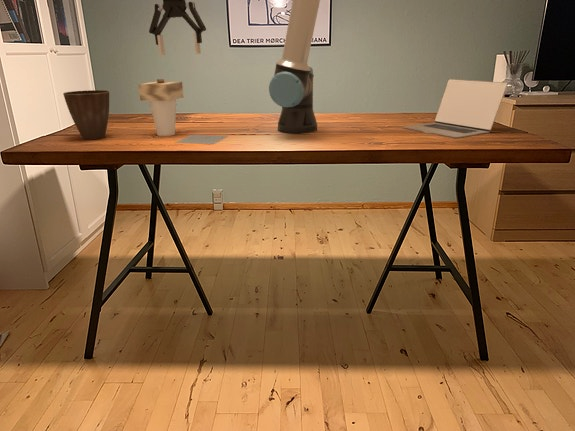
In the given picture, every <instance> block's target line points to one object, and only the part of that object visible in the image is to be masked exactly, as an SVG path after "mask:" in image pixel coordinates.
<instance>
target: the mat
mask: <svg viewBox="0 0 575 431" xmlns="http://www.w3.org/2000/svg"><path fill="white" fill-rule="evenodd" d="M228 137H229V136H228V135H214V134H213V135H211V134H210V135H209V134H192V135H191V134H190V135H188V136H186V137H184V138H182V139H179V140H177V141H174V143H178V144H199V145H200V144H204V145H214V144H216V143H218V142H221V141H223V140H225V139H226V138H228Z"/></svg>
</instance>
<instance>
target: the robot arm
mask: <svg viewBox="0 0 575 431" xmlns="http://www.w3.org/2000/svg"><path fill="white" fill-rule="evenodd" d="M320 2H321V0H292V2H291V6H290V13H289V17H288V23H287V28H286V29H287V30H286V35H285V41H284V46H283V51H282V55H281V56H282V57H281V59H279V60H278V61H276V62H275V63H276V64H275V68H274V73H273V74H274V75H273V77H271V80H270V82H269V84H268V92H269V96H270V99H271V100H272V102H274V104H276V105H277V106H279V107H280V108H281V112H280V115H279V118H278V122H277V131H279V132H281V133H285V134H286V133H288V134H306V133H312V132H316V131H317V130H318V121H317V119H316V115H315V112H314V70H313V67H311V66H309V65H308V61H309V57H310V51H311V45H312V41H313V36H314V32H315V27H316V22H317V17H318V13H319V12H318V11H319V8H320ZM196 8H197V7H196V4H195V1H194V2H193V1H189V2H186V0H162V4H160V3H155V4H154V13H153V16H152V20H151V23H150V26H149V30H148V32H149V34H152V35H154V38H155V40H154V41H155V44H156V45H157V47H158V52H159V56H166V51H165V45H164V43H165V42H164V36H163V35H162V33H163V30H164V29H165V27H166V25H167V24H168V21H169V20H171V18H172V19H173V18H175V19H176V18H182V19H184V20H185V21H186V23H187V24H188V25H189V26H190V27H191V29H192V30H193V31H194V32H195V33H193V42H194V49H195V50H194V52H195V55H196V54H199V55H200V54H201V44H202V43H203V40H202V33H203V32H206V31H207V28H206V25H205V23H204V22H203V20H202V19H201V16H200V15H199V12H198V10H197V9H196ZM187 9H188V10H189V11H190V14H191V15H192V17H193V19H194V20H195V21H194V20H193V19H192V18H191V16H189V13H187V11H186V10H187ZM162 11H164V12H163V15H162ZM161 15H162V18H161ZM160 18H161V19H160ZM159 20H160V21H159ZM195 22H196V23H195Z"/></svg>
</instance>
